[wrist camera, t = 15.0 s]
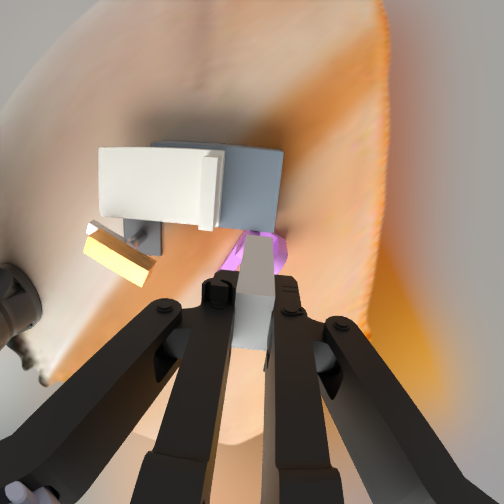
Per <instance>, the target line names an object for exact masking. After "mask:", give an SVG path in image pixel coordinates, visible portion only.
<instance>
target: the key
mask: <svg viewBox="0 0 504 504" xmlns="http://www.w3.org/2000/svg"><path fill="white" fill-rule="evenodd" d="M86 233H87V234H89V236H88V239H87V242H86V245H85V249H84V253H85V254H87V255H88V256H90V257H92V258H93V259H95V260H96V261H98V262H100V263H101V264H103V265H104V266H106V267H108V268H109V269H111V270H113V271H114V272H116V273H118V274H119V275H121V276H123V277H124V278H126V279H128V280H130V281H131V282H133V283H135V284H137V285H138V286H140V287H142V286H143V285H144V283H145V282H146V281H147V279H148V278H149V277H150V274H151V272H152V270H153V268H154V266H155V263H156V261H155V260H154V259H152V258H150V257H148V256H147V255H145V254H143V253H141V252H140V251H138V250H136V249H137V248H138V247H139V246H140V245H141V244H142V243H143V242H144V241H145V240H146V238H147V235H146V233H145V232H144V231H143V230H139V231H137V232H136V233H135V234H134V235H133V236H132V237H130V238H129V239H128V240H127V239H125V238H124V237H122V236H120V235H119V234H117V233H115V232H113V231H112V230H110V229H108V228H107V227H105V226H103V225H102V224H100V223H98V222H97V221H95V220H93V221H91V222H90V223H89V224H88V228H87V231H86Z"/></svg>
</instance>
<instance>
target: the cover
mask: <svg viewBox="0 0 504 504" xmlns="http://www.w3.org/2000/svg"><path fill="white" fill-rule="evenodd" d="M225 153H226V150H212V149H197V148H176V147H100V148H99V168H98V169H99V209H100V216H104V217H116V218H127V219H139V220H150V221H161V222H171V223H182V224H192V225H198V230H206V231H213V229H214V228H215V227H219V225H220V215H221V202H222V189H223V176H224V164H225Z"/></svg>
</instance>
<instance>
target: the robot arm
mask: <svg viewBox="0 0 504 504" xmlns="http://www.w3.org/2000/svg"><path fill="white" fill-rule="evenodd" d="M41 313H42V309H41V303H40V299H39V296H38V294H37V292H36V290H35V288H34V286H33V284H32V283H31V281H30V280H29V279H28V277H27V276H26V275H25V274H24V273H23V272H22V271H21V270H20V269H19V268H17V267H16V266H14V265H11V264H2V265H1V266H0V350H1V349H2V348H3V347H4V346H5V345H6V344H7V343H8V341H9V340H10V339H11V338H12V337H13V336H15V335H17V334H19V333H22V332H24V331H26V330H28V329H31V328H32V327H34V326H35V325H36V323H37V322H38V321H39V320H40V318H41ZM231 347H234V348H243V349H252V350H262V351H266V349H267V353H266V359H265V364H264V370H263V372H265V400H264V434H263V435H264V436H263V464H262V491H261V503H260V504H344V498H343V490H342V483H341V477H340V473H339V471H338V469H337V468H334V467H332V466H331V463H330V457H329V449H328V441H327V434H326V427H325V420H324V413H323V407H322V400H321V396H322V398H323V400H324V402H325V404H326V406H327V408H328V410H329V413H330V414H331V417H332V419H333V421H334V423H335V425H336V427H337V429H338V431H339V433H340V436H341V437H342V440H343V442H344V444H345V446H346V448H347V450H348V452H349V454H350V457H351V459H352V461H353V463H354V465H355V467H356V469H357V471H358V473H359V475H360V478H361V479H362V482H363V484H364V486H365V488H366V490H367V492H368V494H369V496H370V499H371V501H372V503H373V504H499V503H497V502H496V501H495V500H493V499H492V498H491V497H489V496H488V495H486V494H485V493H484V492H483V491H482V490H480V489H479V488H478V487H476V486H475V485H474V484H472V483H471V482H470V481H469V480H467V479H466V478H465V477H464V476H463V474H462V473H461V471H460V470H459V468H458V467H457V465H456V463H455V462H454V461H453V459H452V457H451V456H450V454H449V453H448V451H447V450H446V449H445V447H444V445H443V444H442V443H441V441H440V440H439V438H438V437H437V435H436V434H435V432H434V431H433V429H432V428H431V427H430V425H429V424H428V422H427V421H426V419H425V418H424V416H423V415H422V414H421V412H420V411H419V409H418V408H417V406H416V405H415V404H414V402H413V401H412V399H411V398H410V397H409V395H408V394H407V392H406V391H405V390H404V388H403V387H402V385H401V384H400V383H399V381H398V380H397V379H396V377H395V376H394V374H393V373H392V372H391V370H390V369H389V368H388V366H387V365H386V363H385V362H384V361H383V359H382V358H381V357H380V355H379V354H378V353H377V351H376V350H375V349H374V347H373V346H372V345H371V343H370V342H369V341H368V339H367V338H366V337H365V335H364V334H363V333H362V331H361V330H360V329H359V327H358V326H357V325H356V324H355V323H354V322H353V321H352V320H350V319H348V318H346V317H343V316H332V317H329V318H328V319H326V322H325V323H322V322H318V321H315V320H312V319H311V318H309V317H307V312H306V310H305V309H304V308H303V307H301V301H300V296H299V290H298V284H297V281H296V280H295V279H294V278H293V277H292V276H284V275H275V274H274V256H273V237H265V236H256V235H246V240H245V245H244V251H243V256H242V261H241V267H240V271H231V270H223V269H220V270H219V271H218V272H216V273H215V275H214V278H210V279H207V280H205V281H204V282H203V283H202V302H201V305H200V306H198V307H195V308H187V309H182V307H181V304H180V303H179V302H178V301H176V300H173V299H168V298H162V299H158V300H155V301H153V302H151V303H150V304H149V305H148V306H147V307H145V308H144V309H143V310H142V311H141V312H140V313H139V314H138V315H137V316H136V317H134V318H133V319H132V320H131V321H130V322H129V323H128V324H127V325H126V326H125V327H124V328H122V329H121V330H120V331H119V332H118V333H117V334H116V335H115V336H114V337H113V338H112V339H111V340H109V341H108V342H107V343H106V344H105V345H104V346H103V347H102V348H101V349H100V350H99V351H98V352H97V353H96V354H94V355H93V356H92V357H91V358H90V359H89V360H88V361H87V362H86V363H85V364H84V365H83V366H82V367H81V368H80V369H79V370H78V371H76V372H75V373H74V374H73V375H72V376H71V377H70V378H69V379H68V380H67V381H66V382H65V383H64V384H63V385H62V386H61V387H60V388H59V389H58V390H57V391H56V392H55V393H54V394H53V395H52V396H51V397H49V399H47V400H46V401H45V402H44V403H43V404H42V405H41V406H40V407H39V408H38V409H37V410H36V411H35V412H34V413H33V414H32V415H31V416H30V417H29V418H28V419H27V420H26V421H25V422H24V423H23V424H22V425H21V426H20V427H19V428H18V429H17V430H16V432H14V433H13V434H12V435H11V436H9V437H7V438H5V439H2V440H1V441H0V504H75V503H76V502H77V501H78V500H79V499H80V498H81V497H82V496H83V495H84V494H85V492H86V491H87V490H88V489H89V488H90V486H91V485H92V484H93V482H94V481H95V480H96V478H97V477H98V476H99V474H100V473H101V472H102V470H103V469H104V467H105V466H106V465H107V464H108V462H109V461H110V459H111V458H112V457H113V455H114V454H115V453H116V452H117V450H118V449H119V447H120V446H121V445H122V443H123V442H124V441H125V439H126V438H127V437H128V435H129V434H130V433H131V431H132V430H133V429H134V427H135V426H136V425H137V423H138V422H139V420H140V419H141V418H142V416H143V415H144V414H145V412H146V411H147V410H148V408H149V407H150V406H151V404H152V403H153V401H154V400H155V399H156V397H157V396H158V395H159V393H160V392H161V391H162V389H163V388H164V386H165V385H166V384H167V382H168V381H169V380H170V378H171V377H172V376H173V374H174V373H175V371H176V370H177V369H178V367H179V366H180V367H179V370H178V373H177V376H176V379H175V382H174V385H173V388H172V392H171V395H170V398H169V401H168V404H167V407H166V410H165V414H164V417H163V420H162V423H161V426H160V430H159V433H158V436H157V439H156V443H155V446H154V448H153V450H152V451H148V453H147V454H146V455H145V457H144V460H143V462H142V465H141V469H140V472H139V475H138V478H137V482H136V485H135V488H134V492H133V495H132V498H131V502H130V504H209V503H210V493H211V486H212V479H213V472H214V465H215V458H216V451H217V444H218V438H219V431H220V424H221V417H222V410H223V404H224V397H225V390H226V383H227V377H228V370H229V363H230V357H231Z"/></svg>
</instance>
